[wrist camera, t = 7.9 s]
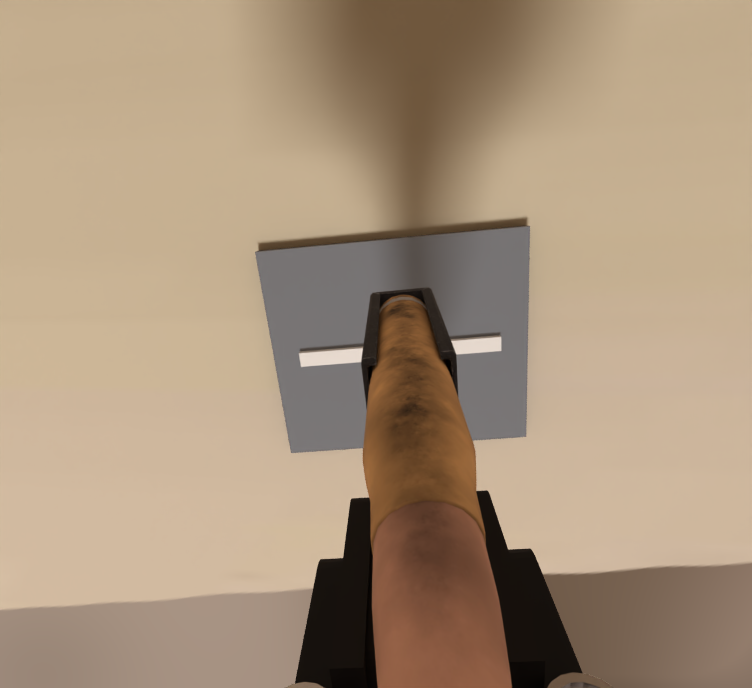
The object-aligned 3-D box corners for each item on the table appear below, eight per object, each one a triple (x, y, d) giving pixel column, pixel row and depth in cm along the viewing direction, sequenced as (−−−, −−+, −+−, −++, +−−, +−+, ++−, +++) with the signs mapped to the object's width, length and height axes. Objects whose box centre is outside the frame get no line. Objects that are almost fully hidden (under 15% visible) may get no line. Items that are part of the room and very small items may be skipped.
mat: (526, 225, 22) (531, 226, 21) (523, 431, 26) (527, 439, 25) (258, 250, 23) (253, 252, 22) (293, 447, 27) (290, 455, 26)
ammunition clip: (449, 565, 16) (583, 1398, 5) (400, 567, 16) (422, 1388, 5) (431, 286, 13) (721, 910, 2) (370, 292, 13) (241, 914, 2)
